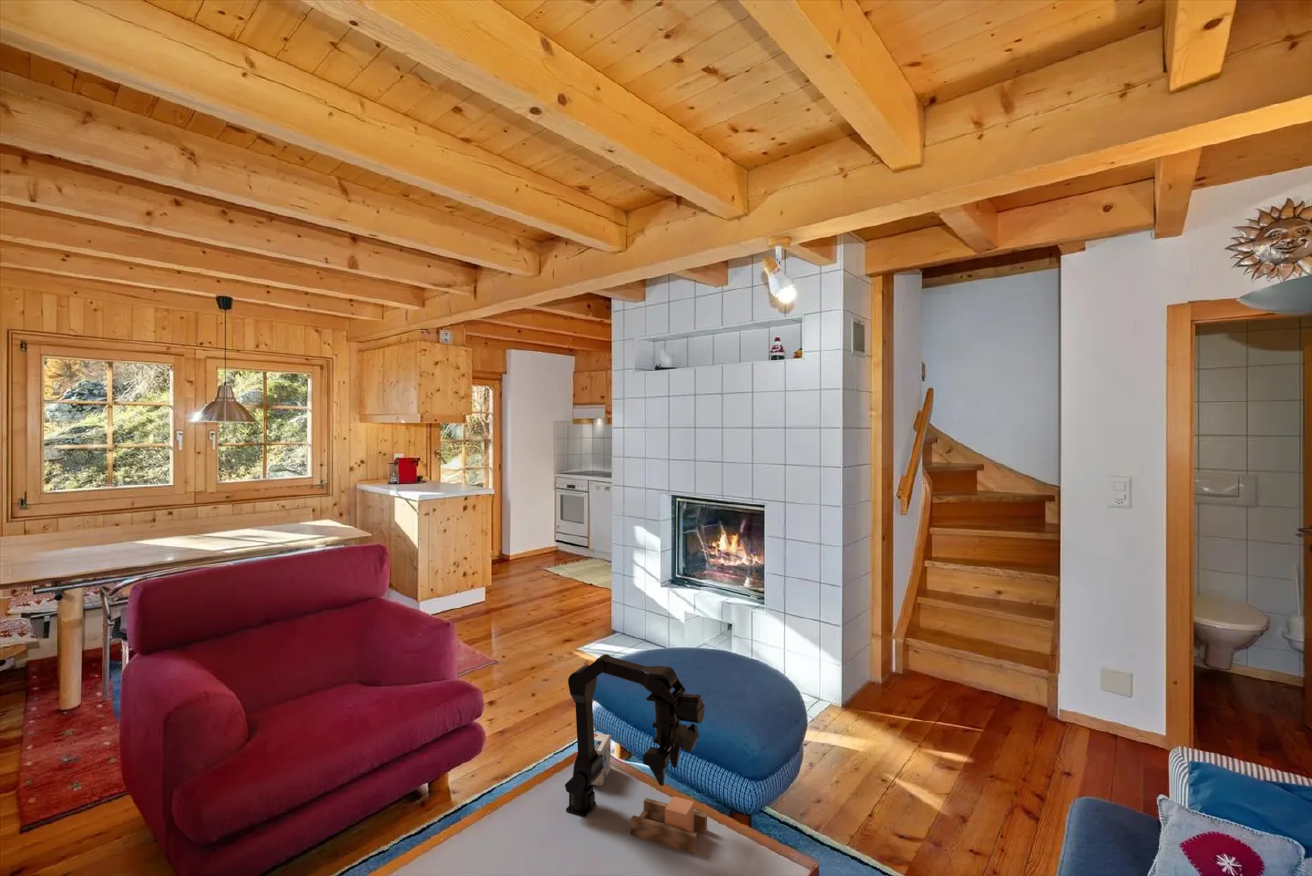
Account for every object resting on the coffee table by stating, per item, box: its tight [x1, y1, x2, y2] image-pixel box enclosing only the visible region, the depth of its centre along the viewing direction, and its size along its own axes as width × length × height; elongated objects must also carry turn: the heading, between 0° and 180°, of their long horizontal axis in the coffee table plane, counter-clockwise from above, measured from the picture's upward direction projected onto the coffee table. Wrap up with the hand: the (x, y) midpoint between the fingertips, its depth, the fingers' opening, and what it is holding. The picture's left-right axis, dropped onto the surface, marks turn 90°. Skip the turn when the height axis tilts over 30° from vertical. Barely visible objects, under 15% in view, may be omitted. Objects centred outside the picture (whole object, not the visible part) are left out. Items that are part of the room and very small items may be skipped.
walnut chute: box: [630, 797, 708, 855], centre depth 160 cm, size 18×10×4 cm, turn 67°
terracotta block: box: [664, 796, 695, 832], centre depth 159 cm, size 6×6×8 cm
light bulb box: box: [591, 732, 612, 787], centre depth 187 cm, size 11×7×11 cm, turn 168°
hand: (668, 776), depth 160 cm, fingers open, 9 cm apart
